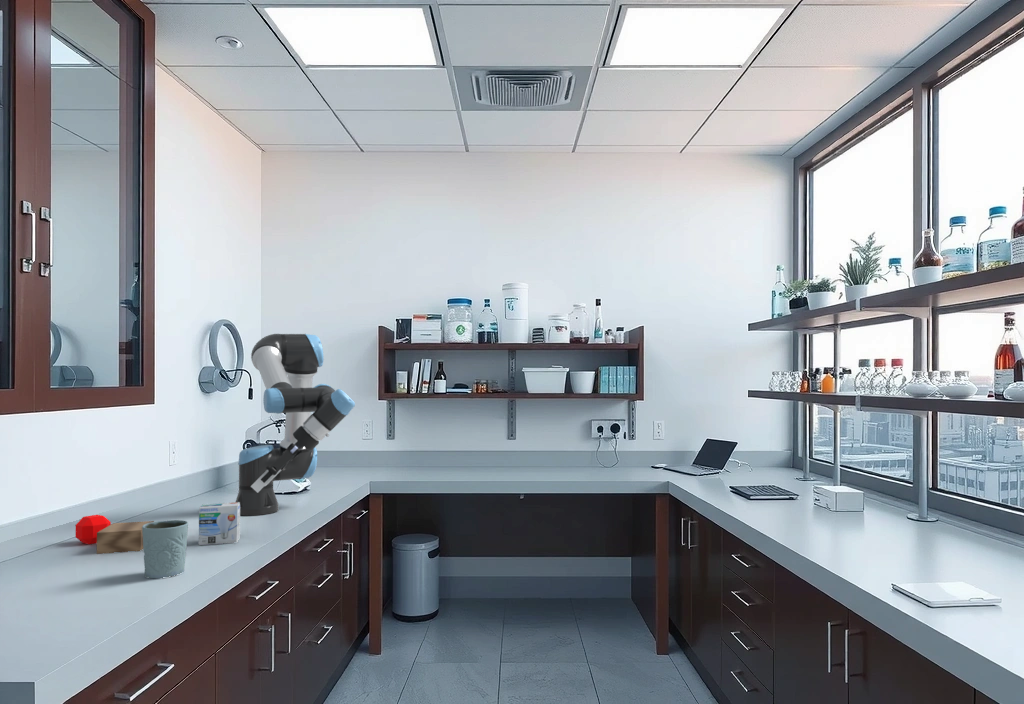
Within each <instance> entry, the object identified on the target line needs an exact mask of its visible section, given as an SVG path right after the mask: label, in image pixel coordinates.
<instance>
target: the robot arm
mask: <svg viewBox="0 0 1024 704" xmlns="http://www.w3.org/2000/svg"><path fill="white" fill-rule="evenodd" d="M250 355H251V356H250V359H251V362H252V364H253V366H254V368H255V369H256V370H257V371H258V372H259V374H260V377H261V379H262V382H263V384H264V386H265V390H264V392H263V409H264V411H265V412H266V413H268V414H277V415H278V414H285V422H284V424H285V425H284V438H283V439H282V440H281V441H280V442H279V447H277V448H275V447H274V445H272V444H265V445H264V444H263V445H257V446H251V447H247V448H244V449H242V450H240V452H239V455H238V464H237V465H238V493H237V496H236V499H235V502H240V516H260V515H261V516H263V515H267V514H272V513H273V514H274V513H277V512H278V511H279V502H278V500H277V496H276V494H275V490H274V482H278V481H292V480H302V479H309V478H312V476H313V475H314V474H315V471H316V469H317V466H318V464H317V463H318V450H317V448H316V447H317V446H318V445H319V442H320V441H323V440H324V438H328V437H329V436H330V434H329V433H331V432H332V430H333V429H334V428H335V427H336V426H338V425H339V424H340V422H342V420H344V419H345V418H346V417H347V416H348V415H349V414H350V413H351V411H352V410H353V409H354V408H355V406H356V402H355V401H354V400H353V399H352V398H351V397H350V396H349V395H348V394H347V393H346V392H345V391H343V390H342V389H341V388H338V389H335V388H333V387H332V386H331V385H329V384H327V383H319V384H317V385H315V386H313V379H314V378H313V377H314V376H315V375H316V374H318V369H319V368H321V367H323V365H324V360H325V359H324V348H323V345H322V342H321V338H320V337H319V336H318V335H316V334H309V333H273V334H268V335H266V336H264V337H262V338H261V339H259V340H258V341H257V342H256V343H255V345H254V346H253V348H252V350H251V354H250Z"/></svg>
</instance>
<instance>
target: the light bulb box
mask: <svg viewBox="0 0 1024 704" xmlns="http://www.w3.org/2000/svg"><path fill="white" fill-rule="evenodd" d="M240 538H241V515H240V502H236V501H235V502H222V503H220V502H219V503H203V504H201V505H200V507H199V509H198V546H205V545H206V546H207V545H220V544H221V545H222V544H223V543H227V544H235V543H234V542H237V543H238V542H239V541H238V540H240ZM223 545H224V544H223Z"/></svg>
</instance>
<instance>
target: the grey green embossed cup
mask: <svg viewBox="0 0 1024 704" xmlns="http://www.w3.org/2000/svg"><path fill="white" fill-rule="evenodd" d="M188 529H189V521H187V520H181V519H178V520H177V519H172V520H171V519H169V520H168V519H167V520H160V521H159V520H158V521H154V522H151V523H147V524H145V525H143V526H142V533H143V550H142V551H143V565H144V577H145V576H146V577H149V578H148V579H150V578H162V579H164V578H163V577H169V576H174V575H177V574H180V573H182V572H184V573H185V563H186V556H187V555H186V554H187V553H186V550H187V543H188V531H189V530H188ZM146 577H145V578H146ZM174 577H175V576H174ZM169 578H170V577H169Z"/></svg>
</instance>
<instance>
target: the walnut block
mask: <svg viewBox="0 0 1024 704" xmlns="http://www.w3.org/2000/svg"><path fill="white" fill-rule="evenodd" d="M151 522H155V520H150V521H149V520H147V521H146V520H145V521H131V522H129V521H128V522H127V521H126V522H113V523H111V525H109V526H108V527H106V528H104V529H102V530H101V531H99V532H97V543H96V554H97V555H100V554H101V555H104V554H115V553H114V552H120V553H129V552H128V551H135V552H141V551H140V550H142V549H143V533H142V526H143V525H145V524H147V523H151ZM142 551H143V550H142ZM103 553H104V554H103Z"/></svg>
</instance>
